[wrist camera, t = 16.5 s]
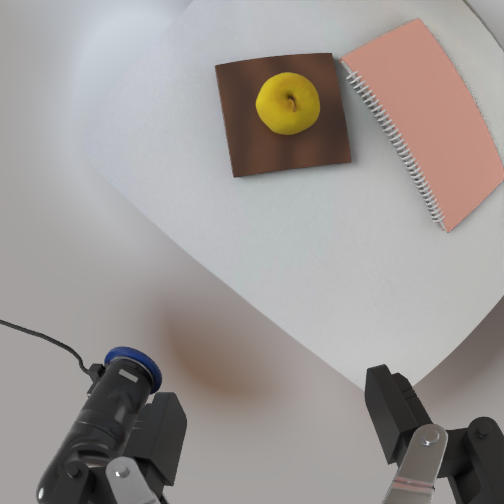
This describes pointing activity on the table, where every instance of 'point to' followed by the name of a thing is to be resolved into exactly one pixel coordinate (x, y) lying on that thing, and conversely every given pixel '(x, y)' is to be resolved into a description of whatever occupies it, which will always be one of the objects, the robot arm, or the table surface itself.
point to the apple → (288, 103)
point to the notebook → (428, 118)
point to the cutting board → (261, 136)
